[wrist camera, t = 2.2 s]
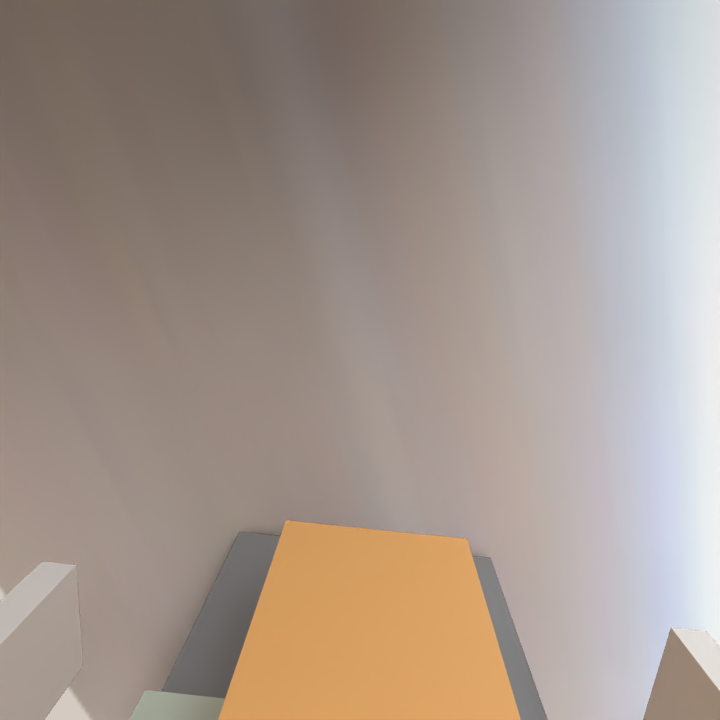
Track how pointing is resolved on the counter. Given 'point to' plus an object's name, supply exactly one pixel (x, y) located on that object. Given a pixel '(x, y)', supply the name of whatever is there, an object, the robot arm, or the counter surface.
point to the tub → (238, 604)
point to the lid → (361, 636)
